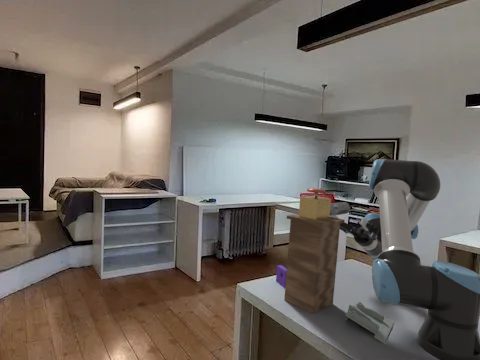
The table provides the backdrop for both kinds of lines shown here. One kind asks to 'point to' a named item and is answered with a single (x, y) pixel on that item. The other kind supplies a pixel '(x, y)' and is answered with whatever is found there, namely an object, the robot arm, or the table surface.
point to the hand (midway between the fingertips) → (345, 217)
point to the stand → (312, 262)
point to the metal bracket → (370, 321)
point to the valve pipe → (320, 206)
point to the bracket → (281, 275)
